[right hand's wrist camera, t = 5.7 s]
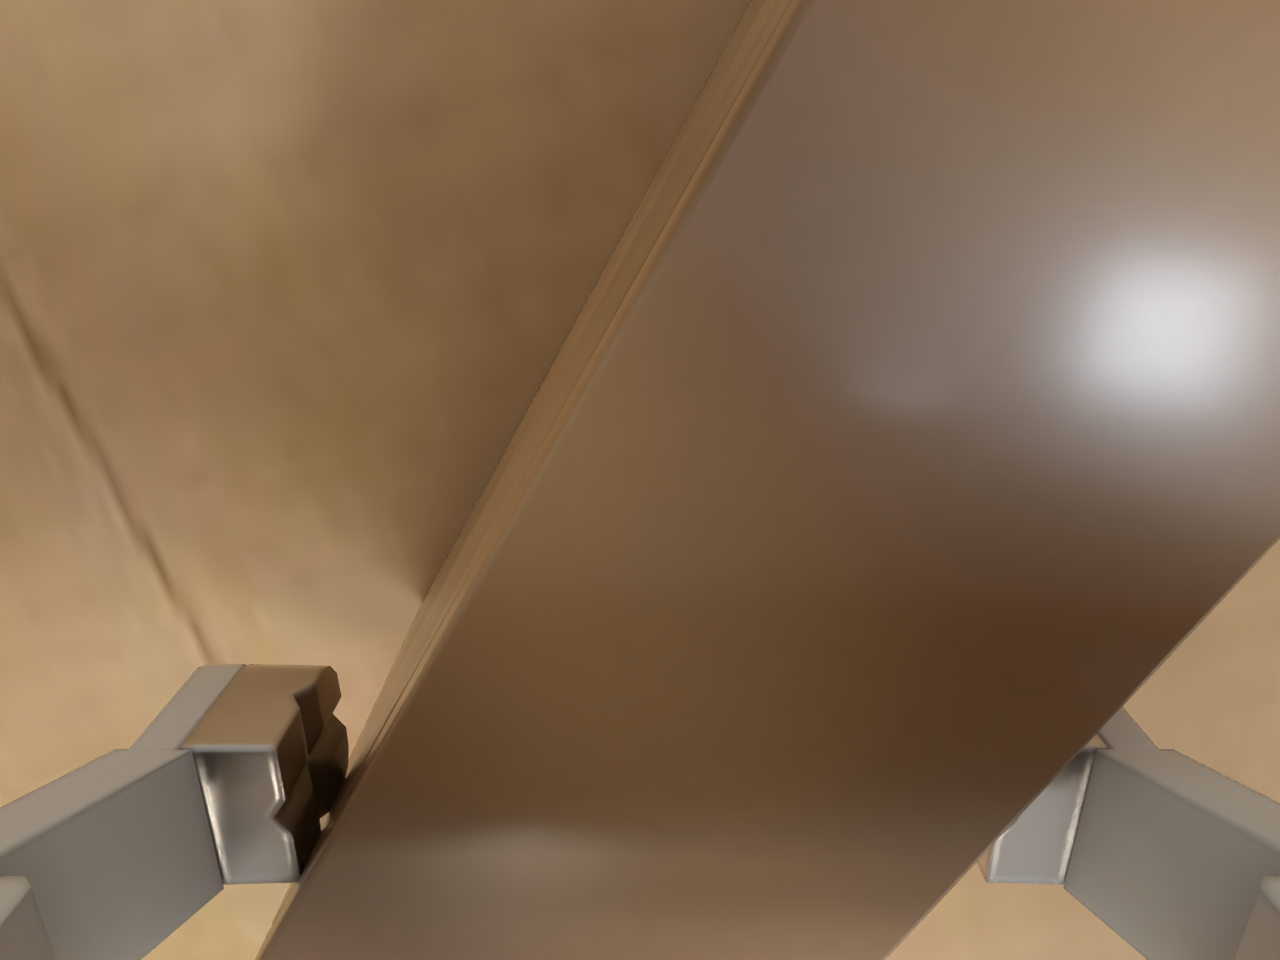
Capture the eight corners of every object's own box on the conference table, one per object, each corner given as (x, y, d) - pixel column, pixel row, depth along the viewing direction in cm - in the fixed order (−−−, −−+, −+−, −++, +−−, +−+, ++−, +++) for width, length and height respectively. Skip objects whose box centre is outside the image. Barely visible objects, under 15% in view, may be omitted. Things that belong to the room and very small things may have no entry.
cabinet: (1072, -587, 10) (2218, -2505, 3) (1396, -299, 11) (2879, -1155, 4) (421, 604, 16) (235, 1001, 9) (670, 723, 18) (692, 1169, 10)
